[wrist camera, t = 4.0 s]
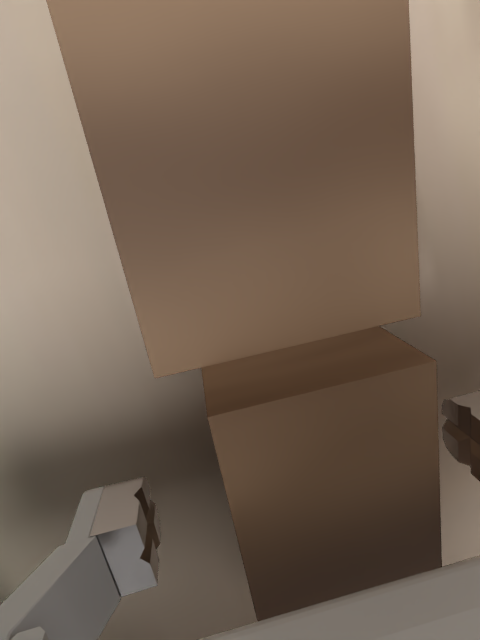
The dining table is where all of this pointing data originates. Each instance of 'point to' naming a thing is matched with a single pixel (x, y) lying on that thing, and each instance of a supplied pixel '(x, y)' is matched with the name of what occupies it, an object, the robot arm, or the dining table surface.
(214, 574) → the dining table surface
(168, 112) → the stepped brown block
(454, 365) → the dining table surface
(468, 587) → the robot arm
